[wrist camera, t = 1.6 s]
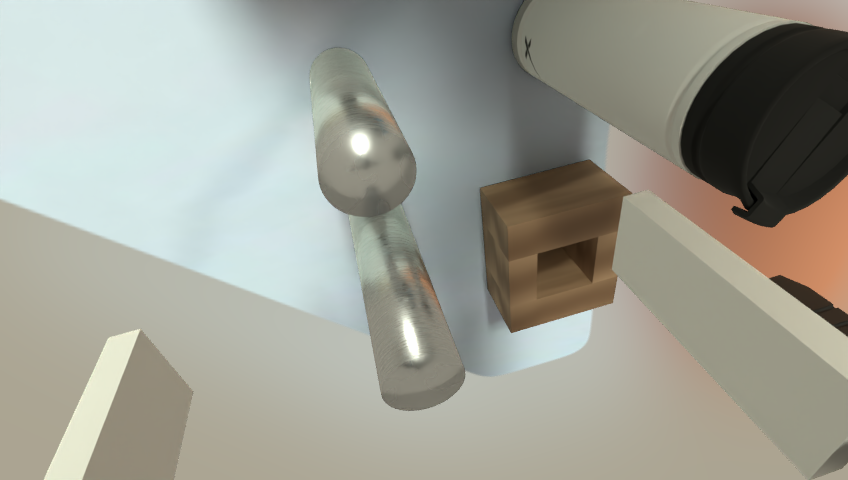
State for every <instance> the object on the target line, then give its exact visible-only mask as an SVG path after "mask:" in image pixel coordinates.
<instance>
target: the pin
mask: <svg viewBox="0 0 848 480" xmlns="http://www.w3.org/2000/svg"><path fill="white" fill-rule="evenodd" d="M309 80H310V92H311V103H312V114H313V125H314V136H315V147H316V158H317V169H318V180H319V185H320V188H321V190H322V193H323V194H324V196H325V198H326V199H327V200H328V201H329V202H330V203H331V204H332V205H333V206H334V207H335V208H337V209H338V210H340V211H342V212H344V213H346V214H349V215H353V216H359V217H372V216H377V215H381V214H384V213H387V212H389V211H391V210H393V209H394V208H396V207H397V206H398V205H400V204H401V203H402V202H403V201H404V200H405V199H406V198H407V196H408V195H409V193H410V192H411V190H412V188H413V186H414V183H415V179H416V162H415V158H414V156H413V153H412V151H411V149H410V147H409V145H408V144H407V142H406V140H405V138H404V136H403V134H402V132H401V130H400V128H399V126H398V124H397V122H396V120H395V118H394V117H393V115H392V113H391V111H390V109H389V107H388V105H387V103H386V101H385V99H384V97H383V95H382V93H381V92H380V90H379V88H378V86H377V84H376V82H375V80H374V78H373V76H372V74H371V72H370V70H369V68H368V66H367V65H366V63H365V61H364V60H363V59H362V58H361V57H360V56H359V55H358V54H357V53H355V52H353V51H352V50H349V49H346V48H331V49H328V50H326V51H324V52H322V53H321V54H320V55H318V56H317V58H316V59H315V60H314V62H313V64H312V66H311V69H310V74H309Z"/></svg>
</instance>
